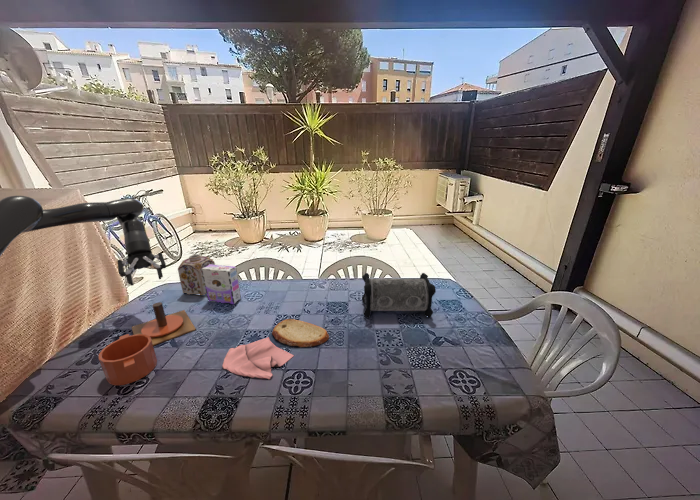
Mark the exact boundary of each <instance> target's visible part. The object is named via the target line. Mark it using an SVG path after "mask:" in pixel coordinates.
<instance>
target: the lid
mask: <svg viewBox="0 0 700 500" xmlns="http://www.w3.org/2000/svg"><path fill="white" fill-rule="evenodd" d="M151 306H152V310H153V313H154V317H155V318H154V319H155V320H154V319H151V320H152V321H151V320H149V321H150V322H149V323H147V324H146V325H145V326H144V327H143V328H142V330H141V333H142V334H145V335H148V336H150V337H159V336H163V335H166V334H169V333H171V332H173V331H175V330H177V329H178V328H179V327H180V326H181V325H182V324H183V318H182V317H181V316H177V315H170V314H168V315H169V316H167V315H166V312H165V309H164V305H163V302H161V301H159V302H155V303H153V304H152V305H151Z"/></svg>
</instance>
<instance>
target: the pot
mask: <svg viewBox="0 0 700 500" xmlns="http://www.w3.org/2000/svg"><path fill="white" fill-rule="evenodd" d="M118 338H119V339H116V340H114V341H112V342H110V343H109V344H108V345H106V346H105V347H103V348H102V349H101V351H100V352H99V353H98V361H99V363H100V366H101V369H102V371H103V374H104V377H105V379H106V382H107V383H108V384H110V385H112V386H125V385H129V384H132V383H134V382H137V381H139V380H141V379H143V378H144V377H146V376H148V375H149V374H150V373H151V372H152V371H153V370H155V368H156V367H157V365H158V358H157V355H156V352H155V347H154V346H153V344H152V341H151V338H150V336H148V335H145V334H137V335H133V334H132V335H130V334H129V333H127V334H124V335H121V336H119V337H118Z"/></svg>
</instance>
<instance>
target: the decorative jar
mask: <svg viewBox="0 0 700 500" xmlns="http://www.w3.org/2000/svg"><path fill="white" fill-rule="evenodd" d="M210 264H213V265H216V263H215V261H214V260H213V259H212V258H210V257H209V256H205V255H201V254H192V255H190V256H188V258H186V259H184V260H182V261H181V263H180V264H179V266H178V267H177V271H178V278H179V282H180V286H181V291H182V294H183V293H187V294H186V295H190V294H200V295H205V294H206V288H205V283H204V278H203V274H202V268H204V267H206V266H208V265H210ZM200 295H199V296H200ZM206 295H207V294H206ZM206 295H205V296H206Z"/></svg>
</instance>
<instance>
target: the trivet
mask: <svg viewBox="0 0 700 500" xmlns="http://www.w3.org/2000/svg"><path fill="white" fill-rule="evenodd" d="M169 315H177V316H181V317H182V318H183V324H182V325H181V326H180V327H179V328H178V329H177V330H175V331H173V332H171V333H169V334H166V335H163V336H159V337H150V338H151V341H152V344H153V347H154V346H158V345H160V344H162V343H165V342H168V341H171V340H174V339H176V338H179V337H182V336H184V335H187V334H190V333H192V332H195V331H197V328H196V327H195V325H194V324H193V322H192V320H191V318H190V316H189V315H188V314H187V311H186V310H185V309H183V310H180V311H176V312H173V313H170V314H167V315H166V316H169ZM155 319H156V318H154V319H151V320H148V321H145V322H142V323H139V324H136V325H133V326H131V330H132V333H133V334H132V335H137V334H142V333H141V330H142V328H143V327H144V326H145V325H146V324H147V323H149V322H150V321H152V320H155Z"/></svg>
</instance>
